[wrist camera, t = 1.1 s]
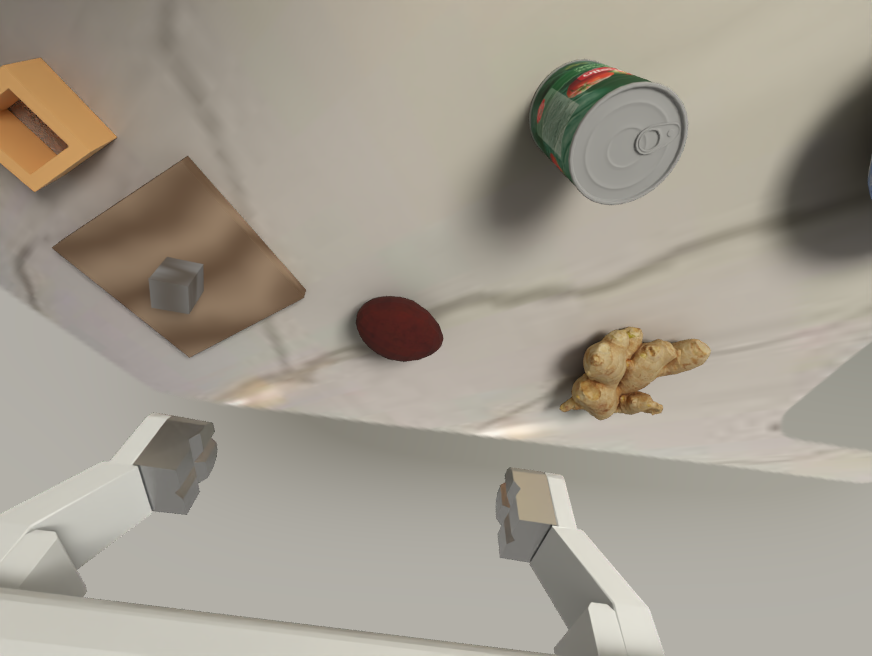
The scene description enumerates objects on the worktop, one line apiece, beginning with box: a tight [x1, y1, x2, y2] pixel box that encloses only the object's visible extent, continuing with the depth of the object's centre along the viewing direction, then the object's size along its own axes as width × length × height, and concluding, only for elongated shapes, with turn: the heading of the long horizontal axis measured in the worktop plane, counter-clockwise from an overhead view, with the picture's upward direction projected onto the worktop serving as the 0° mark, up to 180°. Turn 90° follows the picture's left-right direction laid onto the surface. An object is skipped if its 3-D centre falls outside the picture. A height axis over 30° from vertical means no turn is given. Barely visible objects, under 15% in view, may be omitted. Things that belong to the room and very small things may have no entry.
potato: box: [356, 296, 443, 362], centre depth 47 cm, size 7×10×6 cm
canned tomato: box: [529, 59, 688, 205], centre depth 33 cm, size 8×8×11 cm
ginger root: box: [560, 327, 711, 420], centre depth 54 cm, size 16×16×8 cm
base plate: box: [52, 156, 306, 357], centre depth 41 cm, size 16×16×6 cm
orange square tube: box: [0, 58, 117, 192], centre depth 33 cm, size 6×6×4 cm
